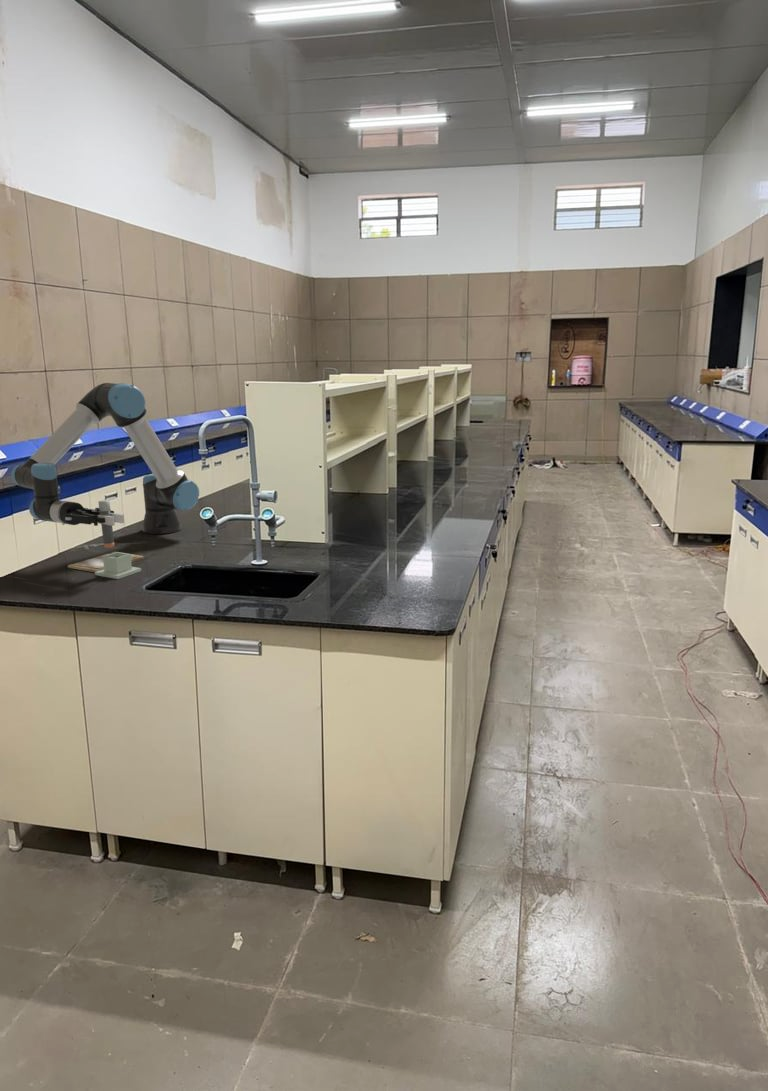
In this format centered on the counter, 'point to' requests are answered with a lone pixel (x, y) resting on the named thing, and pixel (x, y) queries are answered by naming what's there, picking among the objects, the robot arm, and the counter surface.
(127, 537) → the counter surface
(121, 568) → the square socket holder
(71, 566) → the clipboard
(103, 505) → the marker
